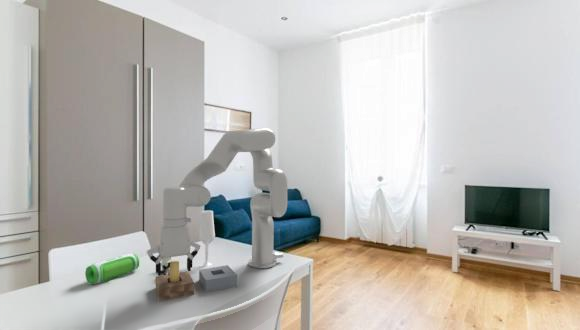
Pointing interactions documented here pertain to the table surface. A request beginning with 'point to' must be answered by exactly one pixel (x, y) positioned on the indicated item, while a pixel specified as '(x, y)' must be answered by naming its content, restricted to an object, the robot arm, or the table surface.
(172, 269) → the pin
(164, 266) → the valve
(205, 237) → the champagne flute
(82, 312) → the table surface
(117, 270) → the speaker
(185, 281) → the mount
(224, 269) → the socket
